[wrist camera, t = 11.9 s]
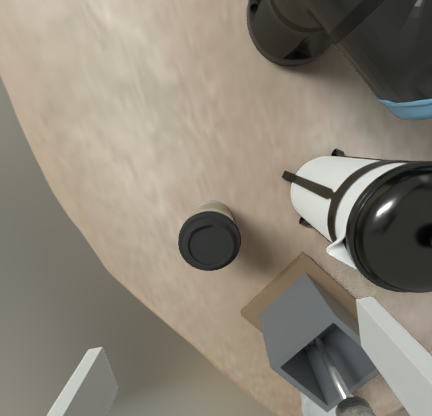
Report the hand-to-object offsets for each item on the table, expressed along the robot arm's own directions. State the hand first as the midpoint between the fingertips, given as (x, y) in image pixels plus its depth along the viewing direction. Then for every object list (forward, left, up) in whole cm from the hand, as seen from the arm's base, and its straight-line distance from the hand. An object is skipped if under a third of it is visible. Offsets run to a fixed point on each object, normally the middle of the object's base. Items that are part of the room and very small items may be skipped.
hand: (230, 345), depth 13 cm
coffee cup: (+4, +1, -37) cm, 37 cm away
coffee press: (-15, +12, -37) cm, 42 cm away
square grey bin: (+6, +28, -37) cm, 47 cm away
